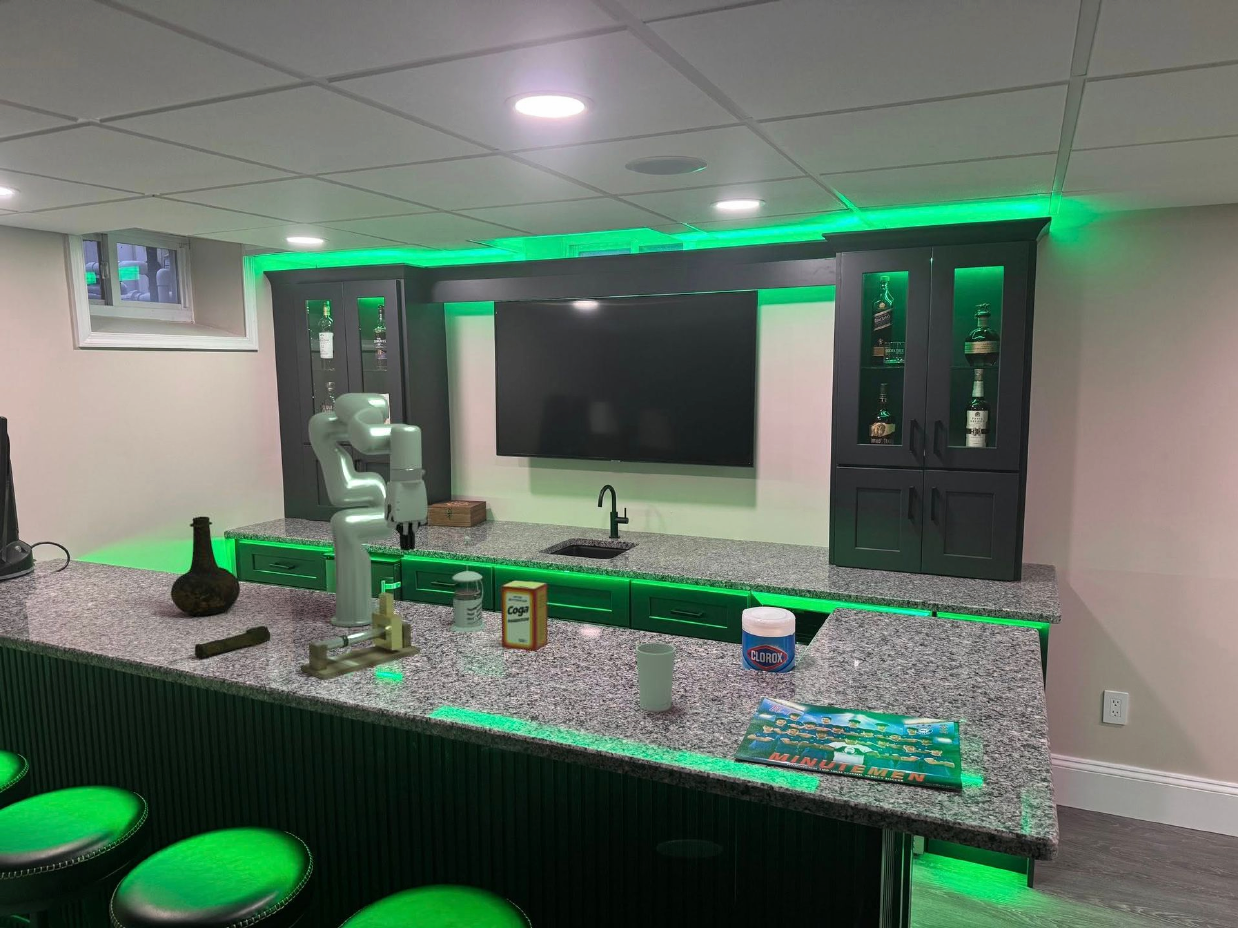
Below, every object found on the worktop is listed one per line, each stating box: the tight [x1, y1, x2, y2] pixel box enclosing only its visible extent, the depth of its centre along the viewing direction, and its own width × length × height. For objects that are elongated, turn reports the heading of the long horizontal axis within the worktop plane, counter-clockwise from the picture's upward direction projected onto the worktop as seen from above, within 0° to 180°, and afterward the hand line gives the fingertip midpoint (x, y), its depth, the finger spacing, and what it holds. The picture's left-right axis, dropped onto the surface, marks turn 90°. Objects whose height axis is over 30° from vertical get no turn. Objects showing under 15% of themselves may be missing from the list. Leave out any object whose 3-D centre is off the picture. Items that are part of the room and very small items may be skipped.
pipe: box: [314, 620, 407, 652], centre depth 202 cm, size 24×3×3 cm, turn 140°
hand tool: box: [194, 625, 271, 660], centre depth 212 cm, size 19×4×5 cm, turn 142°
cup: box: [635, 642, 676, 713], centre depth 173 cm, size 8×8×12 cm
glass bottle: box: [170, 516, 241, 617], centre depth 247 cm, size 18×18×28 cm
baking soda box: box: [500, 580, 548, 652], centre depth 215 cm, size 10×6×16 cm
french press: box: [449, 535, 487, 633], centre depth 233 cm, size 10×12×25 cm
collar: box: [371, 592, 403, 650], centre depth 207 cm, size 3×8×13 cm, turn 50°
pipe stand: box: [300, 622, 421, 681], centre depth 202 cm, size 26×10×7 cm, turn 140°
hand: (407, 549), depth 211 cm, fingers closed
